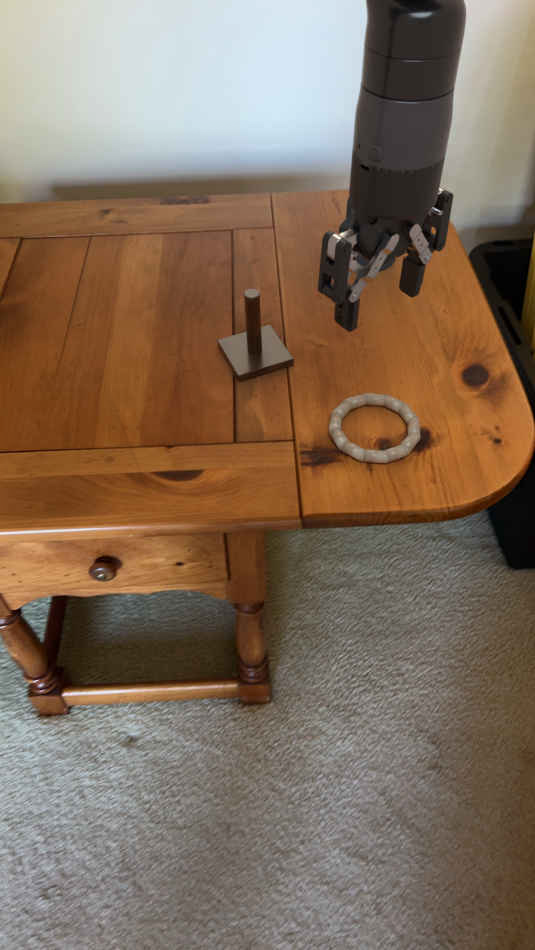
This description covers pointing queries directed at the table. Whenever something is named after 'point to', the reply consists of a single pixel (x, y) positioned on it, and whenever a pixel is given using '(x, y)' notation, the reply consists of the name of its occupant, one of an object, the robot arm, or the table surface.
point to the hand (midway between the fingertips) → (378, 309)
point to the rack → (254, 345)
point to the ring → (368, 454)
